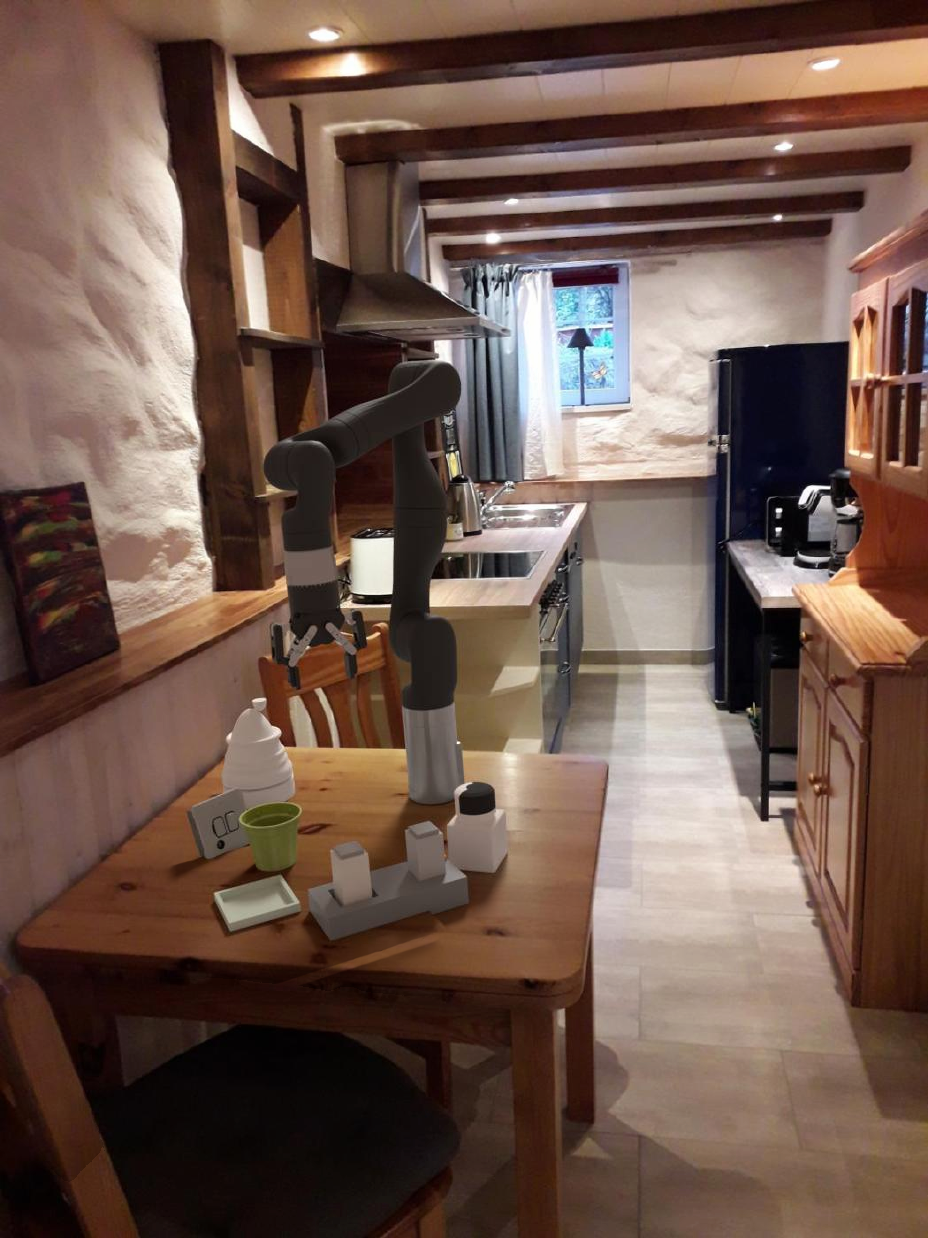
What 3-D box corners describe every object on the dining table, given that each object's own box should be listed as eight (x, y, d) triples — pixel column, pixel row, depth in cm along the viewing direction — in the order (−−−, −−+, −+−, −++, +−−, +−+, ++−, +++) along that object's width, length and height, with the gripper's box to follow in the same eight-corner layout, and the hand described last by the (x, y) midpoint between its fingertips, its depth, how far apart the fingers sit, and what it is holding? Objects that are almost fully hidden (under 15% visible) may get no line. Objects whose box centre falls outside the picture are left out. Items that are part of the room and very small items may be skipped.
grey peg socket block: (441, 877, 139) (436, 809, 137) (468, 903, 131) (463, 832, 129) (310, 915, 131) (302, 845, 129) (331, 946, 123) (323, 871, 121)
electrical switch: (210, 865, 148) (199, 808, 147) (191, 860, 152) (180, 805, 150) (257, 842, 156) (247, 788, 154) (238, 837, 159) (228, 785, 157)
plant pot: (240, 861, 149) (233, 810, 147) (299, 847, 152) (293, 796, 150) (252, 887, 140) (245, 832, 138) (314, 871, 144) (308, 818, 142)
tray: (282, 887, 140) (280, 874, 139) (301, 916, 131) (300, 903, 131) (215, 905, 135) (213, 892, 135) (230, 937, 127) (229, 923, 126)
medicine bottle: (508, 852, 146) (503, 779, 143) (494, 874, 139) (489, 798, 136) (464, 848, 148) (459, 776, 145) (449, 869, 141) (443, 794, 139)
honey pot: (281, 776, 183) (271, 687, 180) (305, 797, 173) (295, 703, 169) (216, 793, 177) (203, 701, 173) (236, 816, 166) (223, 718, 163)
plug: (363, 902, 131) (357, 838, 129) (374, 915, 128) (367, 849, 126) (336, 911, 130) (329, 846, 128) (346, 924, 126) (339, 857, 124)
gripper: (348, 568, 146) (359, 669, 150) (257, 582, 140) (271, 687, 144) (365, 574, 140) (376, 679, 143) (271, 589, 134) (285, 698, 137)
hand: (323, 683), depth 144 cm, fingers open, 8 cm apart
